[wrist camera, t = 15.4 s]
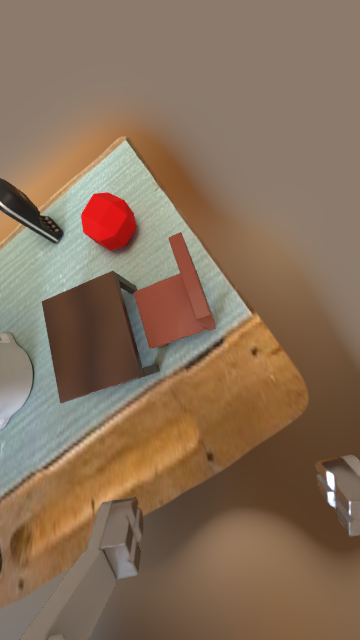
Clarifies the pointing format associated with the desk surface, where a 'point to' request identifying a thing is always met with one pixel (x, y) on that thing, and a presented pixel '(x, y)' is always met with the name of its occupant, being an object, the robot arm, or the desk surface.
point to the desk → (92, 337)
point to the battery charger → (27, 212)
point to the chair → (175, 302)
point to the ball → (108, 221)
